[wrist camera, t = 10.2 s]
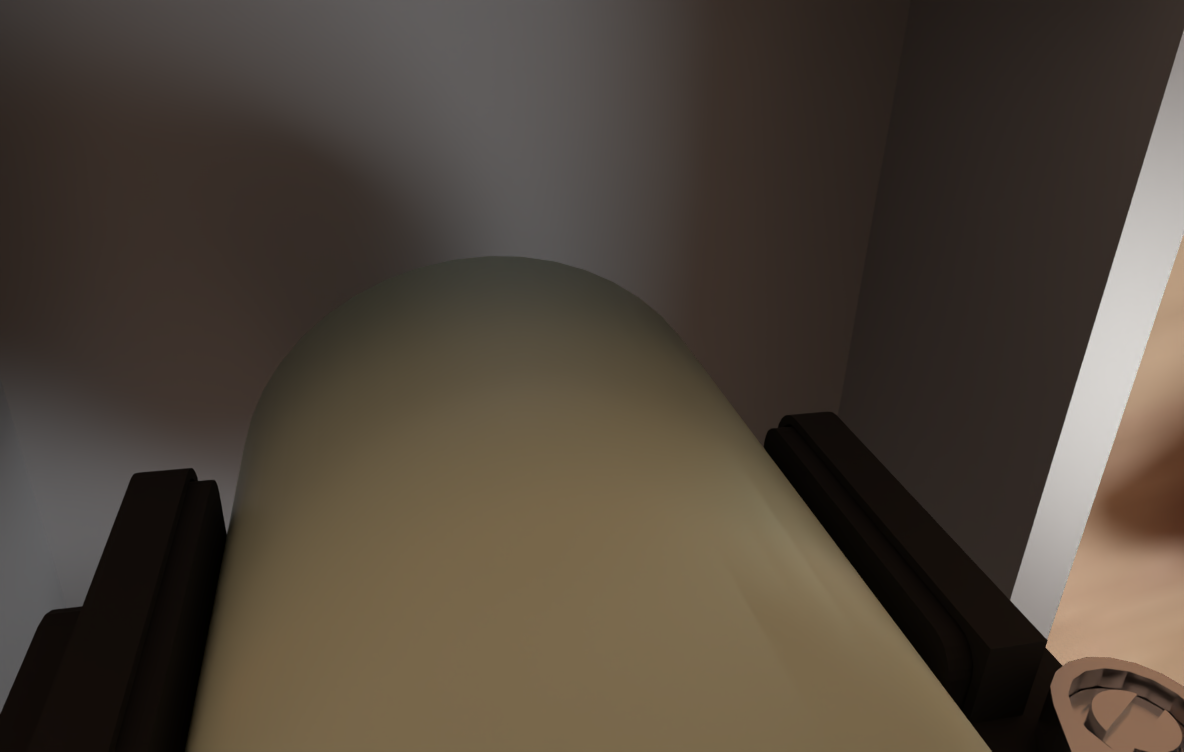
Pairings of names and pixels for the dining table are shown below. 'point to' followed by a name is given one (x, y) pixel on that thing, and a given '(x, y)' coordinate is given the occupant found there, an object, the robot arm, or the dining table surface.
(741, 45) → the bin
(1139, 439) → the dining table surface
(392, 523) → the pale green rounded block
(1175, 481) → the dining table surface
